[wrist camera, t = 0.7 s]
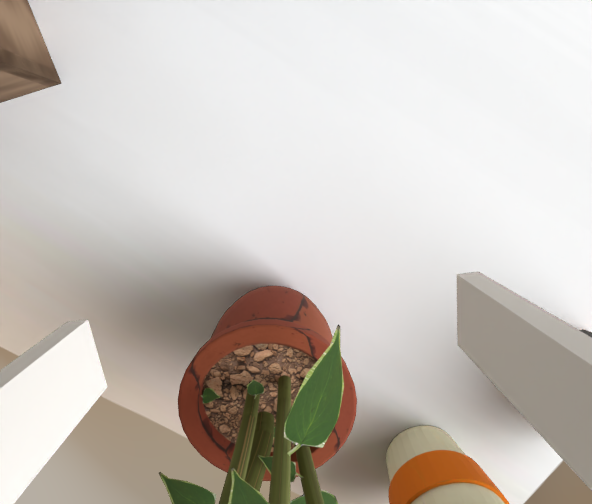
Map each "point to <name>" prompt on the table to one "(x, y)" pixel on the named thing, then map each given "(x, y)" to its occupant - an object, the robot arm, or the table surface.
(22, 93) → the cubby cabinet
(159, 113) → the table surface
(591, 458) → the robot arm
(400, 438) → the reusable coffee cup
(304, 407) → the potted plant
